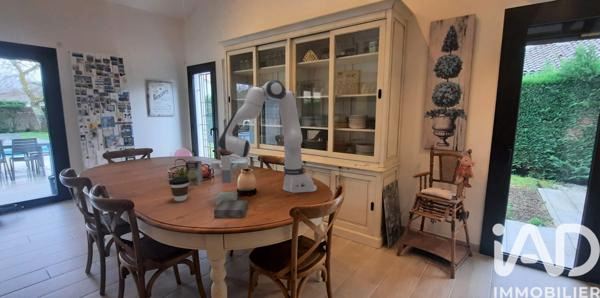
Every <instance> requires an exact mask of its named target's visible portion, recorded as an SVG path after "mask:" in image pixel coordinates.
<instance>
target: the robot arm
mask: <svg viewBox="0 0 600 298" xmlns="http://www.w3.org/2000/svg"><path fill="white" fill-rule="evenodd" d="M266 100H267V101H273V100H276V102H277V104H278V109H279V115H280V120H281V121H280V122H281V126H282V130H283V146H284V149H283V150H284V151H283V152H284V168H283V175H284V181H283V186H282V190H283V191H286V192H289V193H292V194H296V193H310V192H316V191H317V190H318V188H317V185H316V184H315V183H314V180H313V178H312V177H311V176H309V175H308V174H307V173H306V172H307V171H306V169H305V167H303V163H302V162H303V160H302V157H303V156H302V143H303V134H302V129H301V128H302V127H301V124H300V121H299V120H300V118H299V114H298V109H297V101H296V98H295V95H294V93H293V91H291V90H287V89H286V87H285V86H284V84H283V83H282V82H281V81H280V80H277V79H272V80H269V81H267V82H266V83H264V84H263V85H262V86H261V87H259V86H253V87H251V88H250V89H249V91H248V92H247V93H246V96H245V98H244V102H243V103H242V106H241V107H240V108H237V109H235V111H234V112H233V114H232V116H231V118H230V119H229V121H228V123H227V125H226V127H225V129H224V131H223V132H222V134H221V135H220V136H219V139H218V142H217V145H218V147H219V149H221V151H227V152H231V154H230V155H232V165H231V169H233V171H237V170H241V169H242V170H245V169H249V159H248V156H249V153H250V150H251V149H250V148H251V145H250V142H249V140H248V139H245V138H242V137H238V136H235V135H232V133H233V131H234V129H235V128H236V126H237V123H238V122H240V121H249V120H250V121H251V120H254V119H256V118H258V117H259V116H260V114H261V112H262V109H263V106H264V103H265V101H266ZM210 168H211V169H213V170H222V169H221V159H219V160H214V161H211V163H210Z"/></svg>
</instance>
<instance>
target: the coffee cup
mask: <svg viewBox="0 0 600 298" xmlns="http://www.w3.org/2000/svg"><path fill="white" fill-rule="evenodd" d="M188 183H189V179H188V178H187V177H186V178H180V177H179V178H178V177H177V178H176V177H175V178H172V179H170V180H169V183H168V184H169V185H170V188H171V194H172V196H173V200H174V201H175V202H183V201H186V200H187V198H188V192H189V191H188Z"/></svg>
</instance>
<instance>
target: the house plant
mask: <svg viewBox="0 0 600 298" xmlns="http://www.w3.org/2000/svg"><path fill="white" fill-rule="evenodd" d="M173 170H174V171H173V172H175V174H176V175H172V176H173V179H175V178H188V176H189V175H188V173H189V172H190V171H191V170H190V171H189V172H188V173H187V168H186V167H185V166H184V167H183V166H180V169H179V172H178V171H176V169H173ZM186 173H187V174H186ZM187 175H188V176H187ZM190 175H191V174H190ZM188 179H189V178H188ZM189 189H190V185H189V183H188V192H189Z"/></svg>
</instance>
